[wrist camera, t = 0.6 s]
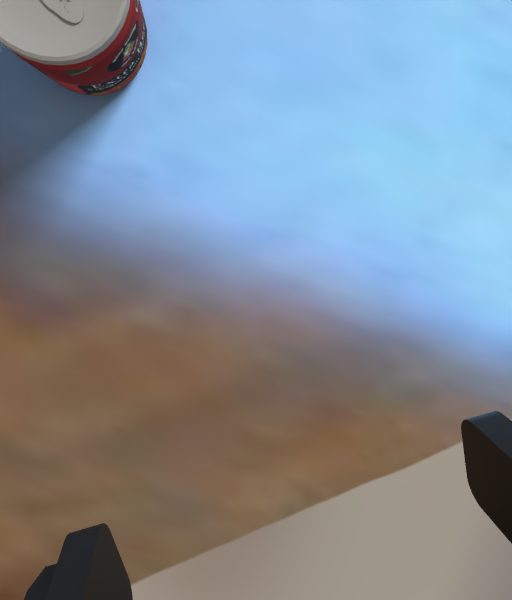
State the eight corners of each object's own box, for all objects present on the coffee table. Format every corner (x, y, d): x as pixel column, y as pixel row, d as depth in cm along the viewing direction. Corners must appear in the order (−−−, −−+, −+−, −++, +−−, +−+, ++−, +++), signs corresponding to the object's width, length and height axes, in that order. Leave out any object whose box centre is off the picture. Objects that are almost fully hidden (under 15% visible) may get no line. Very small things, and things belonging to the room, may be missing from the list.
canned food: (108, 121, 34) (72, 97, 23) (3, 41, 32) (-89, -23, 21) (172, 27, 33) (164, -42, 23) (67, -61, 31) (5, -182, 20)
